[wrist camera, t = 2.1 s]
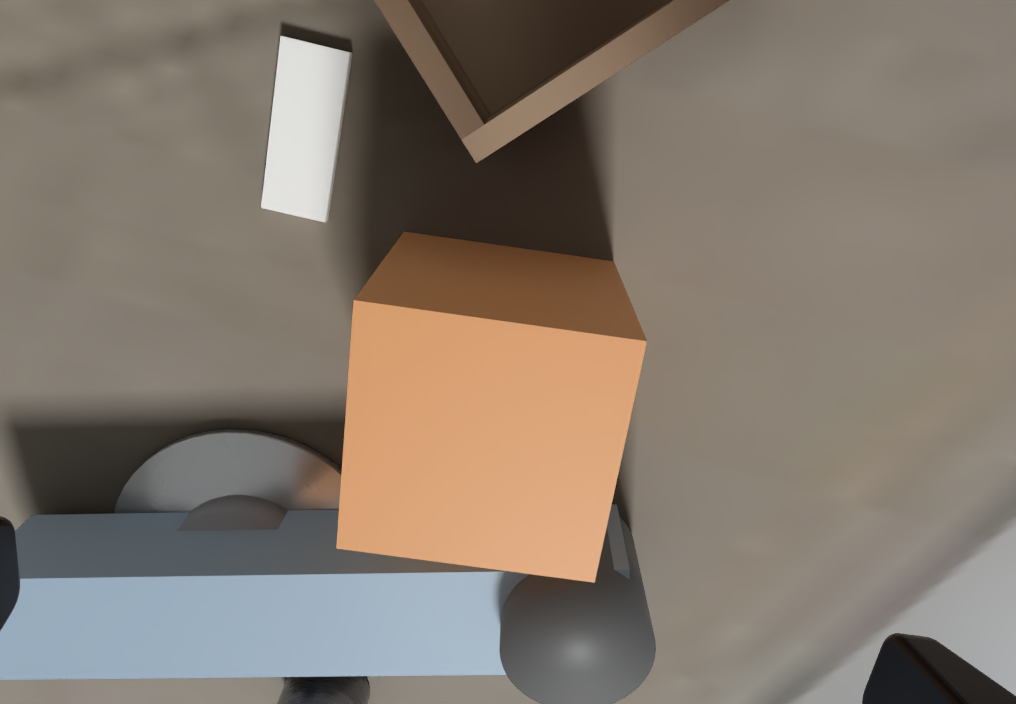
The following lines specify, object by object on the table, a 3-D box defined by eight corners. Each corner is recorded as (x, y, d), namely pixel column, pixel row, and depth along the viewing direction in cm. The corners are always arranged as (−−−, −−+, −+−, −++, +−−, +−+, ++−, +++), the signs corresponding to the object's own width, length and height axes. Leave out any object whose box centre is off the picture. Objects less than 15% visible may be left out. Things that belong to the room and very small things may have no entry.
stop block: (386, 419, 16) (336, 548, 12) (404, 230, 15) (353, 299, 10) (577, 445, 16) (594, 582, 12) (613, 260, 15) (646, 341, 10)
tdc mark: (328, 220, 14) (325, 222, 14) (264, 205, 14) (261, 207, 14) (352, 53, 13) (350, 52, 13) (283, 36, 13) (280, 36, 13)
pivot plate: (233, 694, 19) (229, 702, 18) (59, 511, 17) (53, 517, 17) (439, 589, 17) (438, 595, 17) (274, 378, 16) (271, 383, 15)
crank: (63, 621, 18) (-22, 723, 15) (27, 499, 16) (-72, 585, 14) (633, 613, 17) (653, 717, 14) (636, 487, 16) (658, 575, 13)
